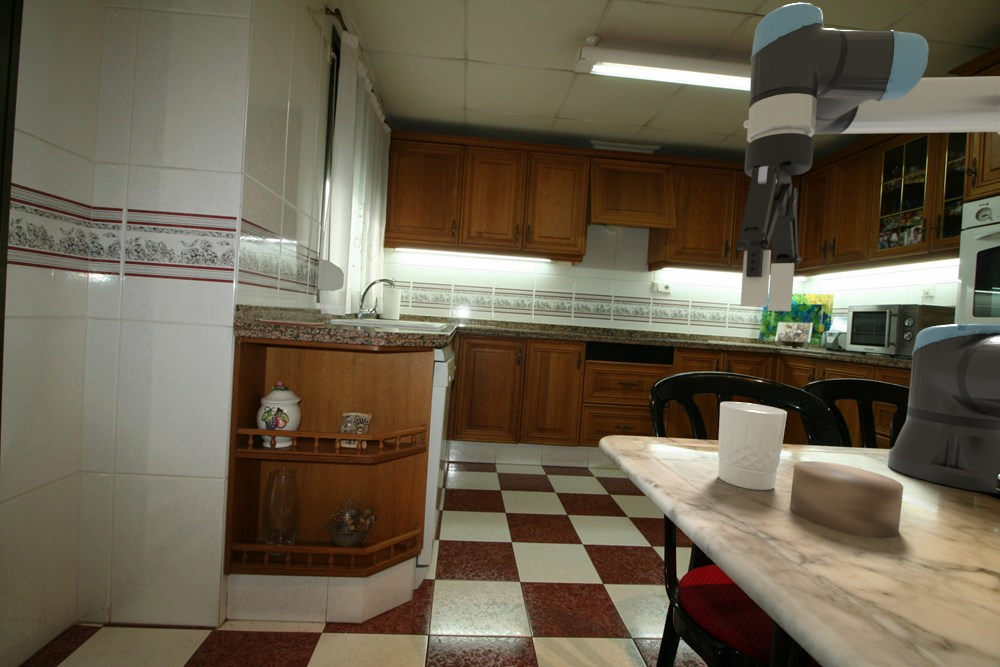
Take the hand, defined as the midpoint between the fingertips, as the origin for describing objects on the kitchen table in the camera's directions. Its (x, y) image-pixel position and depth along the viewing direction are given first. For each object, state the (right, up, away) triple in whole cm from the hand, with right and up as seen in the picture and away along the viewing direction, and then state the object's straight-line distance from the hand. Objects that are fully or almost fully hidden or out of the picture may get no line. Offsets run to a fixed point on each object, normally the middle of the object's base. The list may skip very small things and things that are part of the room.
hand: (767, 309), depth 65 cm
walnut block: (+4, -24, -8) cm, 25 cm away
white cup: (-2, -23, +2) cm, 23 cm away
